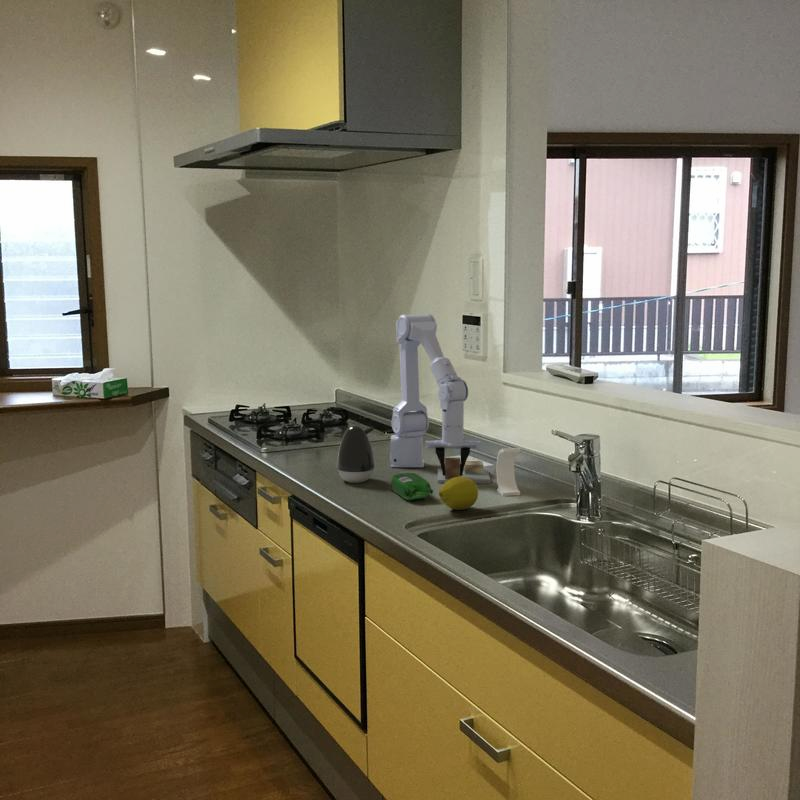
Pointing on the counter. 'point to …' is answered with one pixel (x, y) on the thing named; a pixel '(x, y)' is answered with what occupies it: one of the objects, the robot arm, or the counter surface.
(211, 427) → the counter surface
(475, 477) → the board
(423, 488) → the snack package
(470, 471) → the base block
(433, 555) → the counter surface
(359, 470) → the egg-shaped speaker
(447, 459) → the walnut block
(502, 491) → the headphone stand
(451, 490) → the lemon
